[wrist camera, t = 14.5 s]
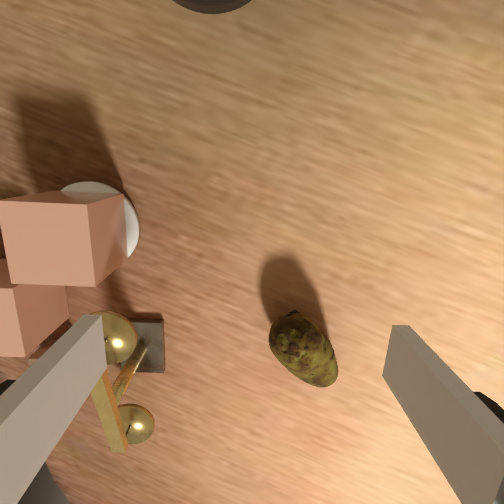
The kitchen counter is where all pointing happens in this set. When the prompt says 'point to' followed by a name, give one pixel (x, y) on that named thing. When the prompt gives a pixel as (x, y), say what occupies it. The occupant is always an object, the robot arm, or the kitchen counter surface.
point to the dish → (130, 211)
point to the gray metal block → (40, 351)
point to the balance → (127, 376)
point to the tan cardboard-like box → (28, 313)
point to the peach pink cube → (63, 237)
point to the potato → (303, 349)
